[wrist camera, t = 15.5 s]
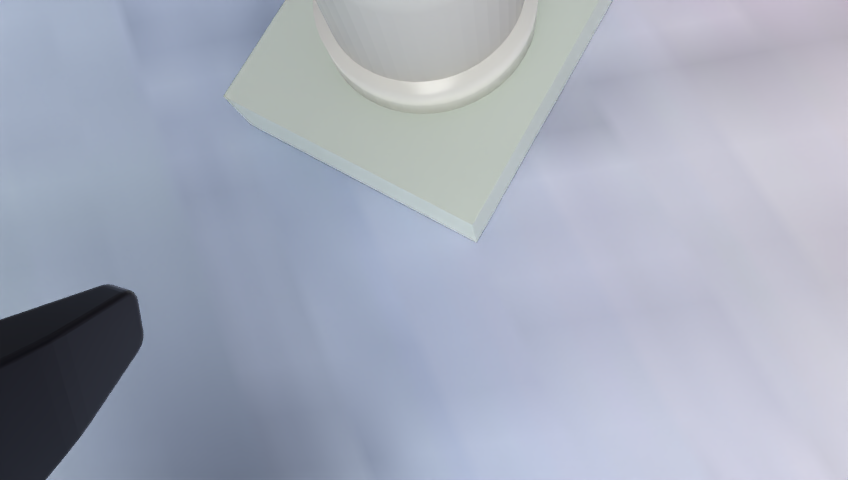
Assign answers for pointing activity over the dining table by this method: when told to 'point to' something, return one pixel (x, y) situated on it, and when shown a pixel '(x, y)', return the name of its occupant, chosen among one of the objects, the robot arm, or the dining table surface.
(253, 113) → the sage block
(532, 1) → the cream jar
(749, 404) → the dining table surface
